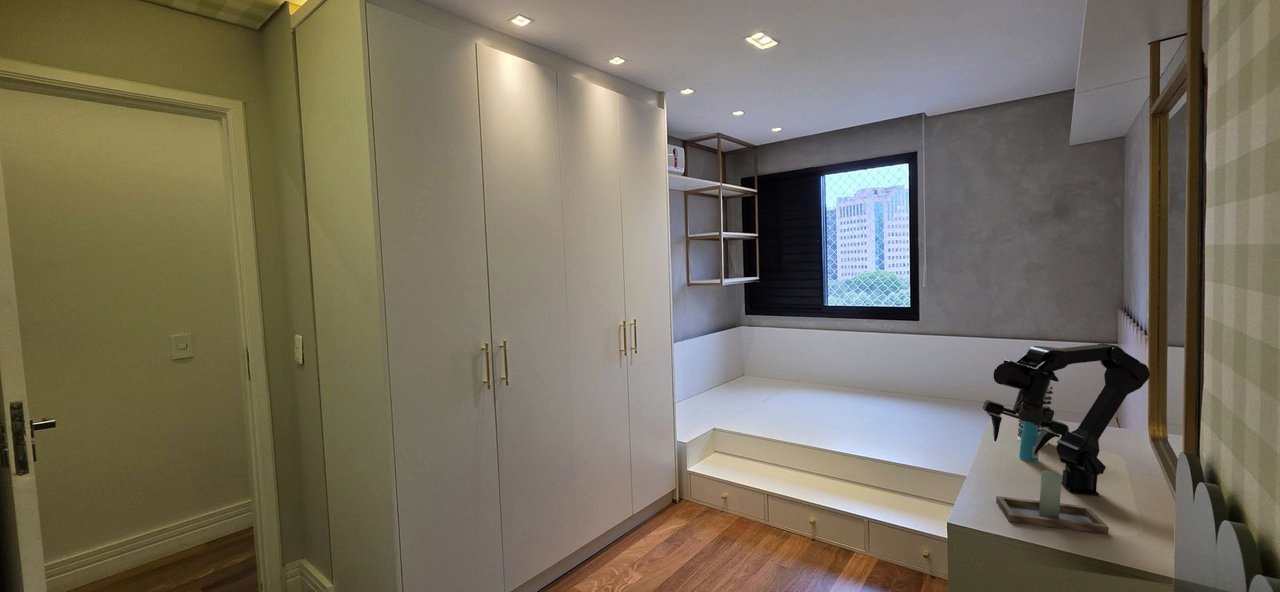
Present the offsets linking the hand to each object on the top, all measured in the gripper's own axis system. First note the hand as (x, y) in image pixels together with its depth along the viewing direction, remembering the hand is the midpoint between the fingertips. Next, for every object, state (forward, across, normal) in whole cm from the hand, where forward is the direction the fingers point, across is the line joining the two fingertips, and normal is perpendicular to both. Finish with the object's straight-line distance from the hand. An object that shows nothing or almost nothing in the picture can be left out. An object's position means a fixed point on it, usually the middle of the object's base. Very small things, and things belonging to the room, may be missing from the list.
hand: (1014, 447), depth 147 cm
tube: (+7, +10, +31) cm, 33 cm away
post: (+12, +9, -10) cm, 18 cm away
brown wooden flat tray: (+13, +9, -10) cm, 18 cm away
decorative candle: (+3, +14, +49) cm, 51 cm away
